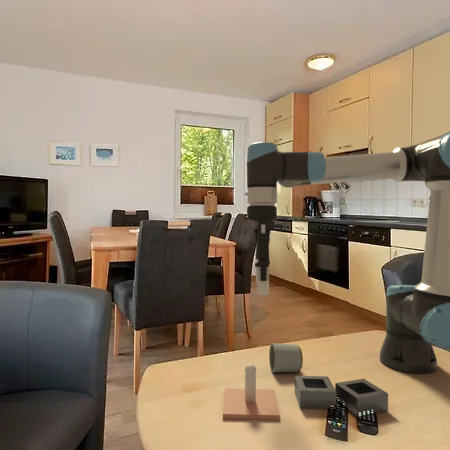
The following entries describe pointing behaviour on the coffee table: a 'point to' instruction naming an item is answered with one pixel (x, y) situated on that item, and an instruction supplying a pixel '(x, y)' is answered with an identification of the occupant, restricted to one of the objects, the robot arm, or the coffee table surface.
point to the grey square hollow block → (362, 396)
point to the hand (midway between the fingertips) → (261, 289)
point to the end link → (314, 392)
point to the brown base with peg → (250, 400)
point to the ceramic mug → (285, 358)
